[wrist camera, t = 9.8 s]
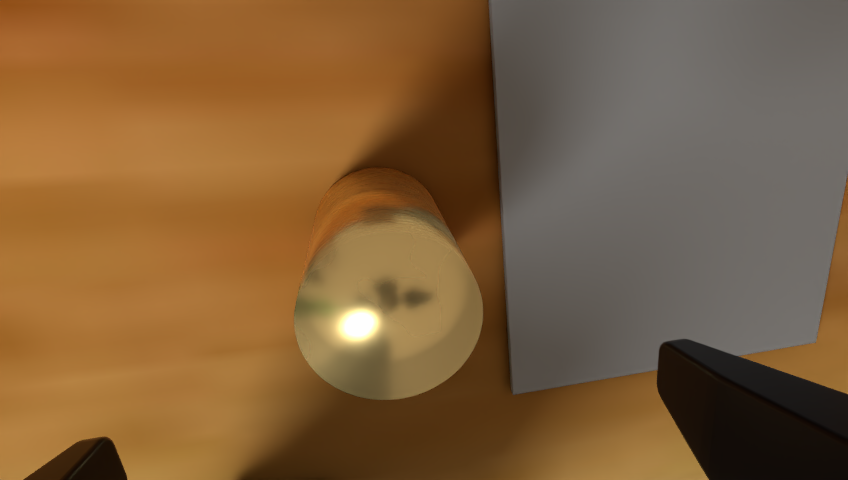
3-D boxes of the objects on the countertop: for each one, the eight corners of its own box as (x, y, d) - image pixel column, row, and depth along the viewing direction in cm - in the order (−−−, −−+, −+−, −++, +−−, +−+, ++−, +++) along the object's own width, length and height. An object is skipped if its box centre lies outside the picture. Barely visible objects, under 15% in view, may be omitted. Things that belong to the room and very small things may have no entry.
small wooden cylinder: (445, 276, 17) (488, 383, 12) (326, 294, 17) (313, 413, 12) (433, 159, 16) (476, 218, 10) (303, 176, 16) (275, 248, 10)
